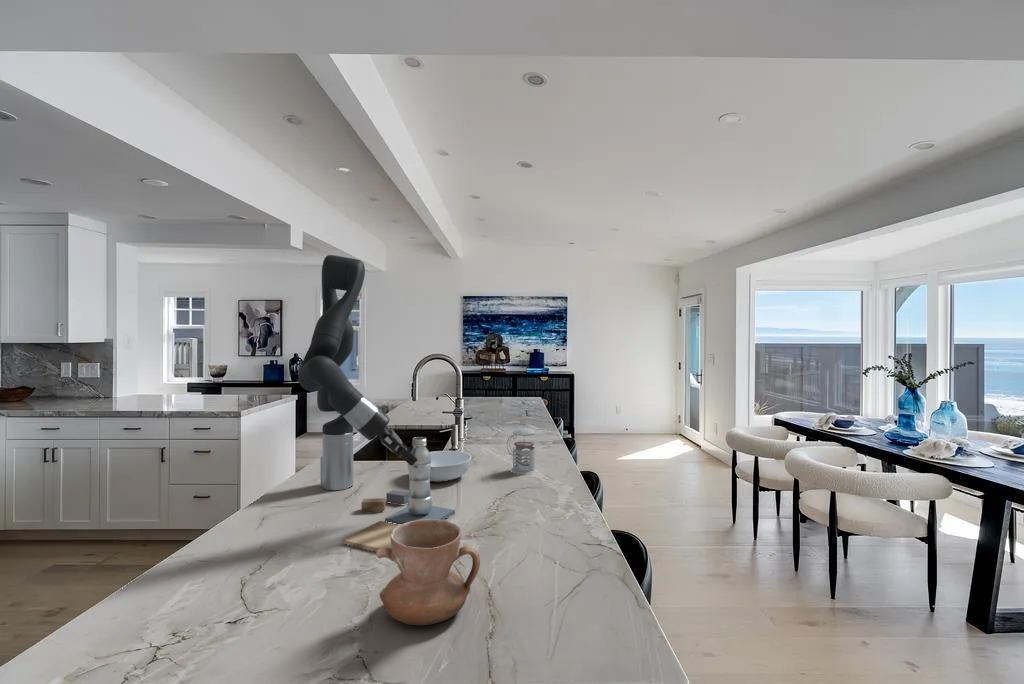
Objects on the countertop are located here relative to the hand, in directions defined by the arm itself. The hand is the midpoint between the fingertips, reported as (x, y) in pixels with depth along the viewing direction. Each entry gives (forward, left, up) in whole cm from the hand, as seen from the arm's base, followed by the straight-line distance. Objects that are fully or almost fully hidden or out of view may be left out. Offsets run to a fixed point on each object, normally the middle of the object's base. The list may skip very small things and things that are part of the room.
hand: (412, 458), depth 132 cm
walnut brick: (-13, 0, -16) cm, 21 cm away
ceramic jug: (+30, -35, -16) cm, 48 cm away
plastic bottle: (+1, +1, -15) cm, 15 cm away
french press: (+7, +54, -16) cm, 57 cm away
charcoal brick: (-11, +8, -16) cm, 21 cm away
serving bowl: (-14, +34, -16) cm, 41 cm away
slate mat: (+2, +1, -16) cm, 16 cm away
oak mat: (+2, -14, -16) cm, 21 cm away
